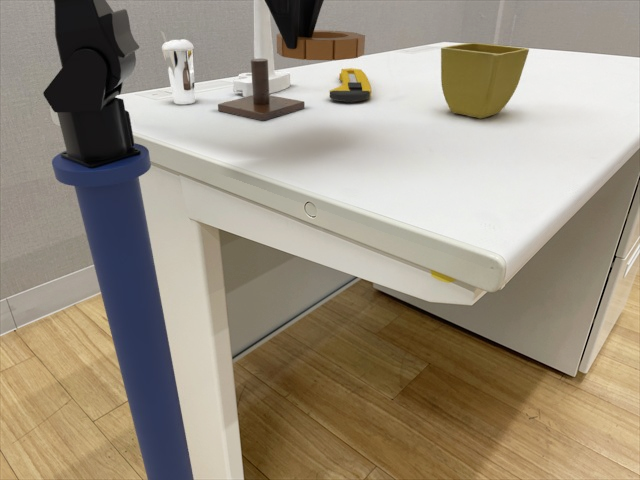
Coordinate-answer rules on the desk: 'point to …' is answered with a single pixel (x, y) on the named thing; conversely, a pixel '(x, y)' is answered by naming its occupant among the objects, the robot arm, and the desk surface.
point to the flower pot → (480, 77)
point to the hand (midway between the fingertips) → (298, 47)
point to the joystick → (262, 54)
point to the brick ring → (324, 46)
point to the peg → (260, 98)
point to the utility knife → (352, 86)
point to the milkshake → (180, 69)
